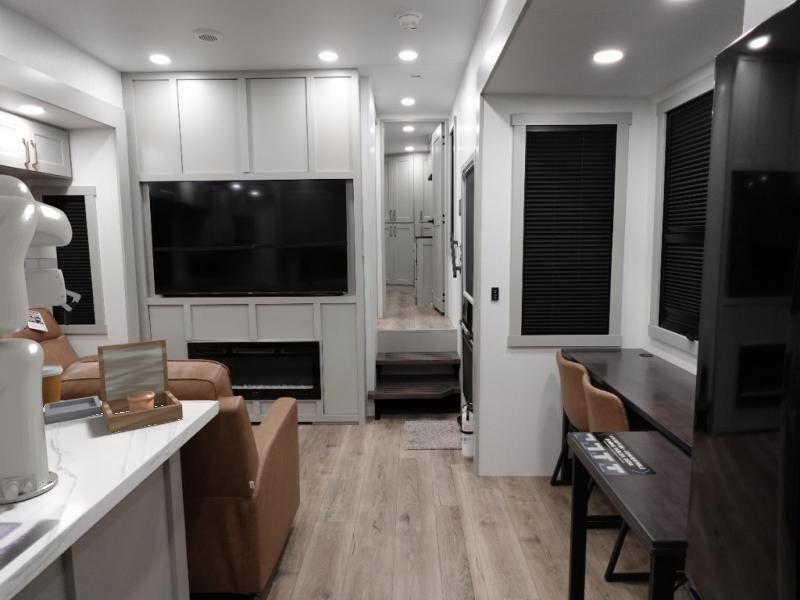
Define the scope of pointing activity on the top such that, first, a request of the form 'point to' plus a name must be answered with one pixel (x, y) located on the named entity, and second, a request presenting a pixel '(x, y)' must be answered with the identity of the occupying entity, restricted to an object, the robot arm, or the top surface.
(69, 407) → the slate tray
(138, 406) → the terracotta pot
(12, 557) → the top surface
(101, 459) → the top surface
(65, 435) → the top surface
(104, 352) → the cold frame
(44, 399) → the disposable coffee cup
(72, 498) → the top surface
